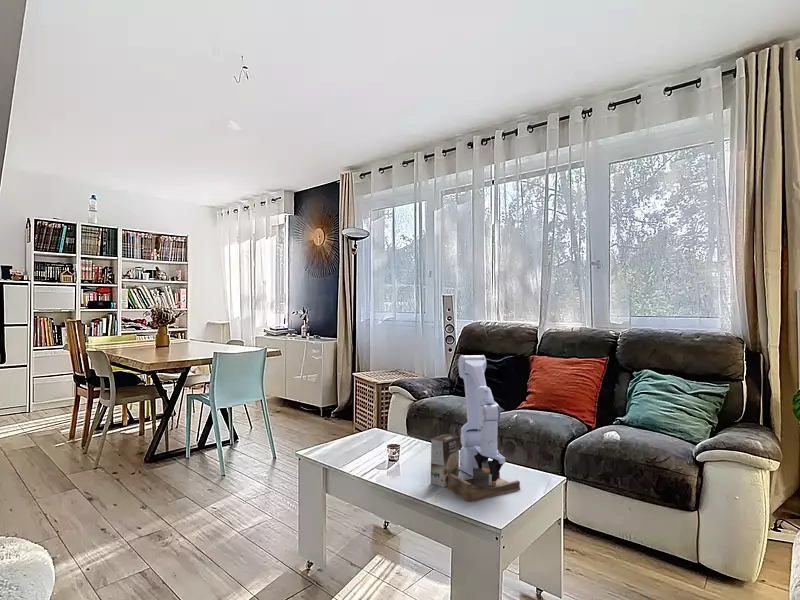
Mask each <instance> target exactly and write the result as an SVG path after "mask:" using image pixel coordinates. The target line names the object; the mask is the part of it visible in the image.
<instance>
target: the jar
mask: <svg viewBox="0 0 800 600" xmlns="http://www.w3.org/2000/svg"><path fill="white" fill-rule="evenodd" d="M488 461H489V460H488ZM488 461H482V470H484V471H487V472H489V473H490V468H489V465H488ZM493 486H496V481H493V482H492V487H493Z"/></svg>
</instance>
